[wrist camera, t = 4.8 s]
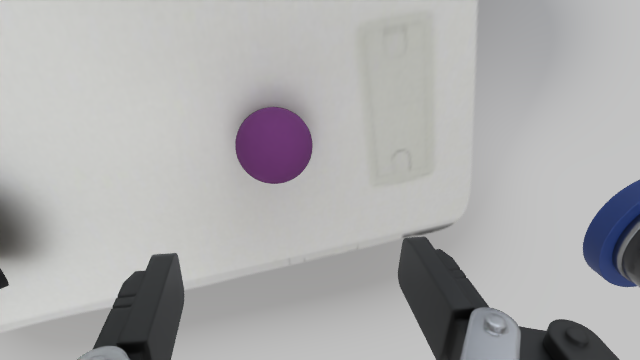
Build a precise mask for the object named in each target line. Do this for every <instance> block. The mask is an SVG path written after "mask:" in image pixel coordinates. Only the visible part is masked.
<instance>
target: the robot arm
mask: <svg viewBox="0 0 640 360" xmlns="http://www.w3.org/2000/svg"><path fill="white" fill-rule="evenodd" d="M612 258H613V265H614V268H615V269H616V271H617V272H618V273H619V274H621V275H622V276H623V277H625V278H626V279H627V280H629V281H631V282H633V283H635V284H636V285H637V286H639V287H640V215H638V216H637V217H636V218H635V219H634V220H633V221H632V222H631V223H630V224H629V225H628V226H627V227H626V229H625V230H624V231H623V232H622V234H621V235H620V237H619V239H618V241H617V243H616V245H615V248H614V251H613V257H612ZM398 279H399V284H400V287H401V289H402V291H403V293H404V295H405V298H406V300H407V302H408V303H409V306H410V308H411V310H412V312H413V314H414V315H415V318H416V320H417V322H418V324H419V326H420V328H421V330H422V332H423V334H424V336H425V337H426V340H427V342H428V344H429V346H430V348H431V350H432V352H433V354H434V356H435V358H436V360H619V359H618V358H617V356H616V355H615V354H613V352H612V351H611V350H610V349H609V348H608V347H607V346H606V345H605V344H604V343H603V341H602V340H601V339H600V338H599V337H598V336H597V335H596V334H595V333H593V332H592V331H591V330H589V329H588V328H586V327H585V326H583V325H581V324H578V323H576V322H573V321H569V320H562V319H561V320H560V319H559V320H555V321H553V322H551V323H550V324H549V327H548V329H547V331H543V330H537V329H531V328H525V327H520V326H518V325H517V323H516V322H515V321H514V320H513V319H512V318H511V317H510V316H508V315H507V314H505V313H504V312H502V311H499V310H497V309H494V308H490V307H489V306H488V305H487V303H486V302H485V301H484V299H483V298H482V297H481V296H480V294H479V293H478V292H477V290H476V289H475V288H474V286H473V285H472V283H471V282H470V281H469V279H468V278H466V276H465V274H464V273H463V271H462V270H460V268H459V266H458V265H457V264H456V262H455V261H454V260H453V258H452V257H450V256H449V255H447V254H446V253H445V252H443V251H442V250H440V249H437V250H435V249H434V248H433V246H432V245H431V243H430V242H429V240H428V239H427V238H426V237H412V238H405V239H404V240H403V243H402V249H401V256H400V262H399V268H398ZM183 304H184V287H183V281H182V275H181V270H180V264H179V259H178V255H177V254H176V253H172V254H157V255H152V257H151V259H150V261H149V264H148V266H147V269H146V271H135V272H134V273H133V274H132V275H131V276H130V277H129V278H128V279H127V280H126V281H125V282H124V283H123V285H122V287H121V289H120V292H119V294H118V298H116V300H115V302H114V305H113V309H111V311H110V313H109V315H108V317H107V320H106V322H105V324H104V326H103V328H102V330H101V333H100V335H99V337H98V339H97V341H96V343H95V345H94V348H93V350H91V351H89V352H87V353H86V354H84V355H82V356H81V357H80V358H78V359H77V360H171V356H172V352H173V348H174V343H175V339H176V335H177V330H178V327H179V322H180V318H181V314H182V310H183Z"/></svg>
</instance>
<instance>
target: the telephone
mask: <svg viewBox="0 0 640 360" xmlns="http://www.w3.org/2000/svg"><path fill="white" fill-rule="evenodd" d="M8 285H9V284H8V281H7V279H6V277H5V275H4V274H3V272H2V270H1V269H0V289H1V288H3V287H6V286H8Z"/></svg>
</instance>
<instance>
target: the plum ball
mask: <svg viewBox="0 0 640 360" xmlns="http://www.w3.org/2000/svg"><path fill="white" fill-rule="evenodd" d="M236 154H237V157H238V160H239V162H240V164H241V166H242V167H243V168H244V170H245V171H246V172H247V173H248V174H249V175H250V176H252V177H253V178H255V179H257V180H259V181H262V182H265V183H271V184H278V183H284V182H287V181H290V180H292V179H294V178H295V177H297V176H298V175H299V174H300V173H301V172H302V171H303V170H304V169H305V167H306V166H307V164H308V162H309V160H310V158H311V154H312V138H311V134H310V131H309V129H308V127H307V126H306V124H305V123H304V121H303V120H302V119H301V118H300V117H299V116H298V115H296V114H295V113H293V112H291V111H289V110H287V109H284V108H279V107H268V108H263V109H260V110H258V111H256V112H254V113H252V114H251V115H250V116H248V117H247V118H246V119H245V120H244V122H243V123H242V124H241V126H240V128H239V130H238V133H237V136H236Z"/></svg>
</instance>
